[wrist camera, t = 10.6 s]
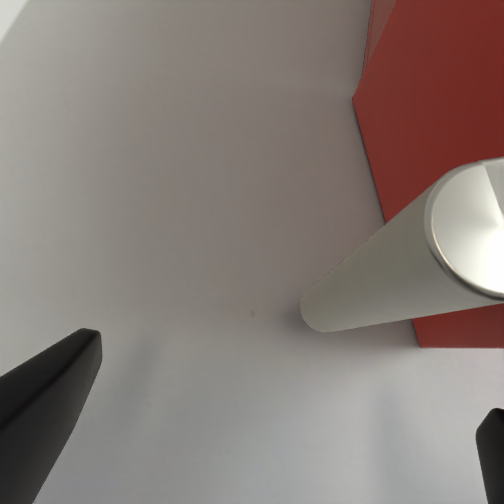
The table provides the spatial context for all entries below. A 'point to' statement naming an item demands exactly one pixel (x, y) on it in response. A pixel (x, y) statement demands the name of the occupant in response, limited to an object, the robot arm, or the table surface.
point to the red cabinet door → (430, 181)
